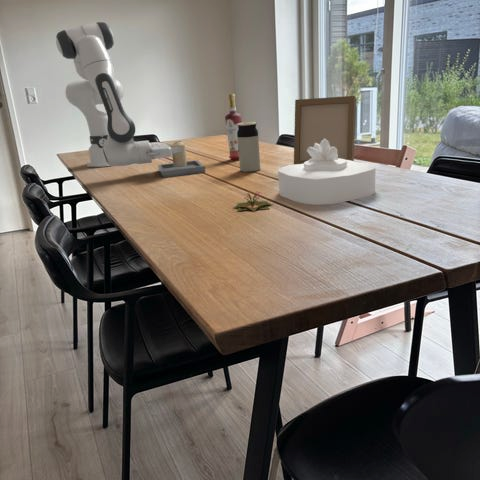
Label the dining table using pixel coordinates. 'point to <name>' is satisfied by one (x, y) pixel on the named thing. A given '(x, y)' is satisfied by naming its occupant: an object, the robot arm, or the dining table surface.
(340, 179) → the tissue box
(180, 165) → the candle
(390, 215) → the dining table surface
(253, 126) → the travel mug
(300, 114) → the photo frame
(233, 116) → the liquor
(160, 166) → the dish
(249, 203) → the olive green leafy cluster
